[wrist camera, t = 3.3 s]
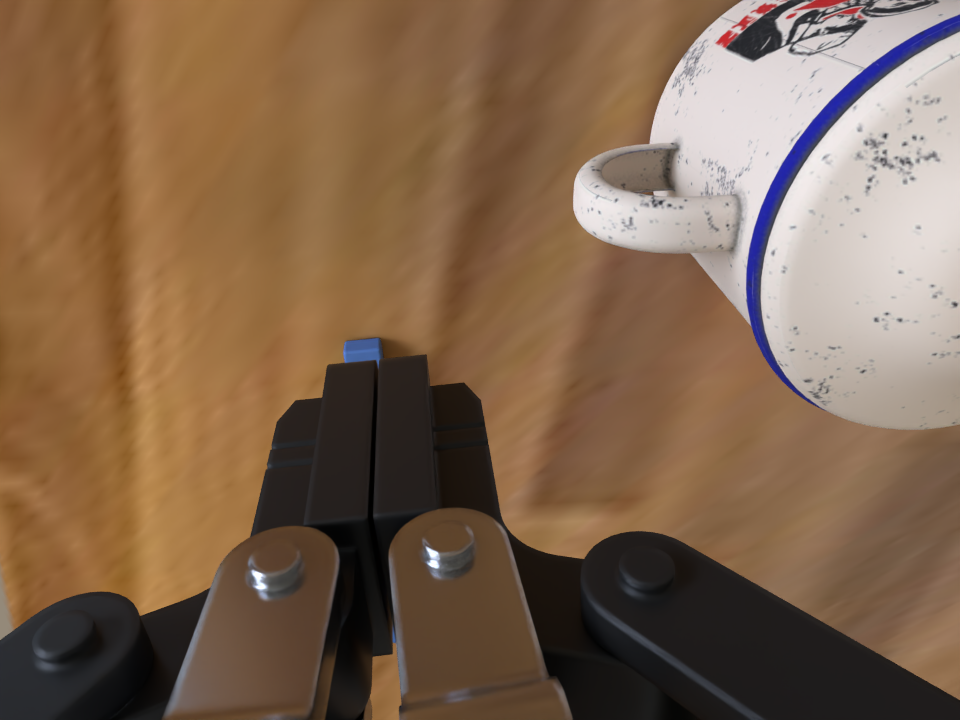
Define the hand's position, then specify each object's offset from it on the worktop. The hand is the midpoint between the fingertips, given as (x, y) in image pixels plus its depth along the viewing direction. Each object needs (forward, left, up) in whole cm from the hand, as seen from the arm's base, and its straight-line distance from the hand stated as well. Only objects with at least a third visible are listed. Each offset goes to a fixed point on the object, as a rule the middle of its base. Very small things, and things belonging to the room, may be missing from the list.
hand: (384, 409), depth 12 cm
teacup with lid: (0, +10, -12) cm, 16 cm away
